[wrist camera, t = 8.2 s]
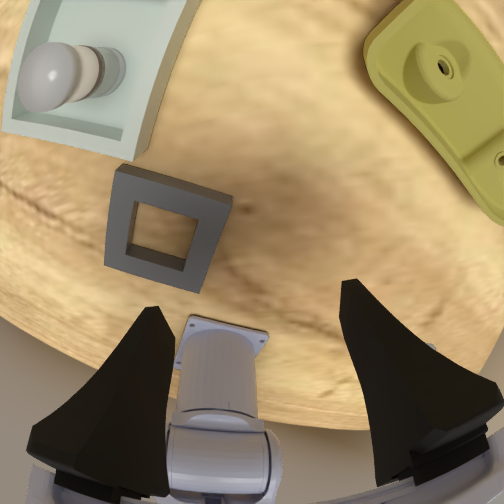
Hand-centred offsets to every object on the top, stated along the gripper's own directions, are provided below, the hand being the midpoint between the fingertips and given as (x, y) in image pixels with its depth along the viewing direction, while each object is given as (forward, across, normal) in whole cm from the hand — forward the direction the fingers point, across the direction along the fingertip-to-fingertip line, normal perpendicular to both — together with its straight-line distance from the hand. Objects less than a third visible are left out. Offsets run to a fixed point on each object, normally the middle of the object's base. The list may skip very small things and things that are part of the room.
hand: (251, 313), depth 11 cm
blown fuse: (+10, +7, -11) cm, 17 cm away
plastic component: (+11, -18, -6) cm, 22 cm away
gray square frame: (+10, +6, +1) cm, 12 cm away
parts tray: (+10, +8, -13) cm, 18 cm away
